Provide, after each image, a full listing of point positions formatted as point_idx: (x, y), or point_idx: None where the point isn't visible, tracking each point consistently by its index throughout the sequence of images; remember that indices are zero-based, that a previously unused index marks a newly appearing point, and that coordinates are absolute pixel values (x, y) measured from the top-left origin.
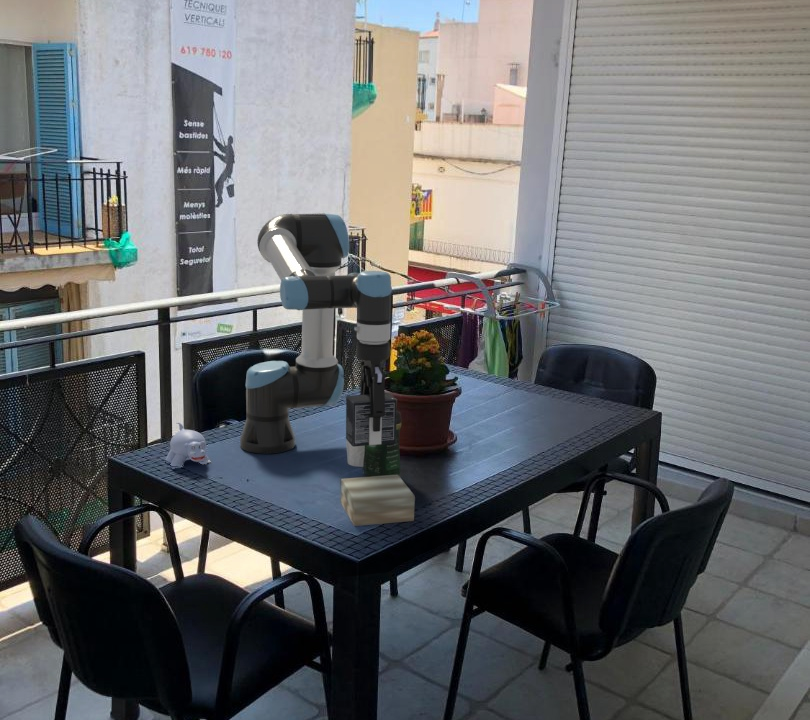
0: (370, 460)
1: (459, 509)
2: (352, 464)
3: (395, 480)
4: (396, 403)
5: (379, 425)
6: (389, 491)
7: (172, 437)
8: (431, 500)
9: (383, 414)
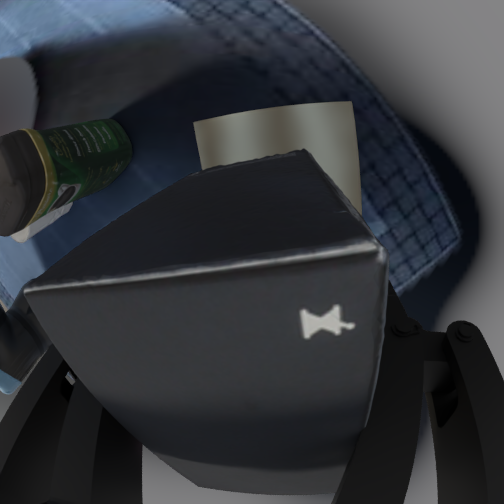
0: (96, 185)
1: (281, 11)
2: (70, 207)
3: (236, 131)
4: (356, 217)
5: (395, 297)
6: (315, 158)
7: None
8: (228, 55)
9: (477, 338)
